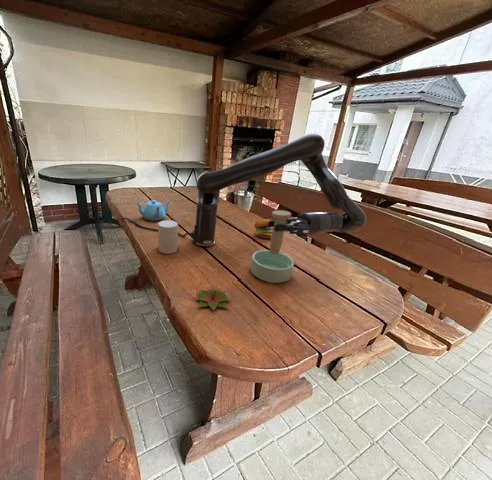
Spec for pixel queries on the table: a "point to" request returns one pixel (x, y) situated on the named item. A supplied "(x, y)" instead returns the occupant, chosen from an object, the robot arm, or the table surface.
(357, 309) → the table surface
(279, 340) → the table surface
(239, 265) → the table surface
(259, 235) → the cheeseburger
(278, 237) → the handle
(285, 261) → the pale green bowl
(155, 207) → the teapot
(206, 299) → the lily flower
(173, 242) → the white cylinder
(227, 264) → the table surface
